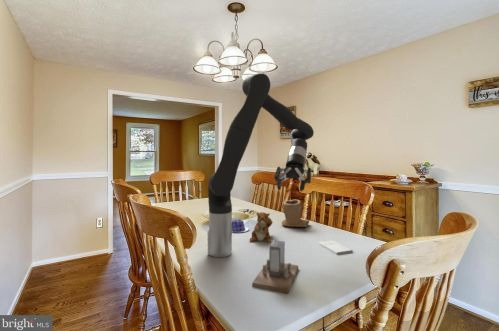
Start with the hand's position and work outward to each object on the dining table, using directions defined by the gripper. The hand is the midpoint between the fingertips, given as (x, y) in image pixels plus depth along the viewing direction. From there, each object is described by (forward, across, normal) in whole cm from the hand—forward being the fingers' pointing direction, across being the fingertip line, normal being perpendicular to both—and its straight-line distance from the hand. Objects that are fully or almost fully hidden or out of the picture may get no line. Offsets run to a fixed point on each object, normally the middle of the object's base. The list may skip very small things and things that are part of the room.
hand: (289, 189), depth 97 cm
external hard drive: (+7, +16, +32) cm, 37 cm away
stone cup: (-12, -6, +50) cm, 52 cm away
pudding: (+1, -33, +38) cm, 51 cm away
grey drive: (+30, 0, +7) cm, 30 cm away
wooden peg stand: (+30, 0, +8) cm, 32 cm away
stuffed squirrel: (+7, -17, +32) cm, 37 cm away
